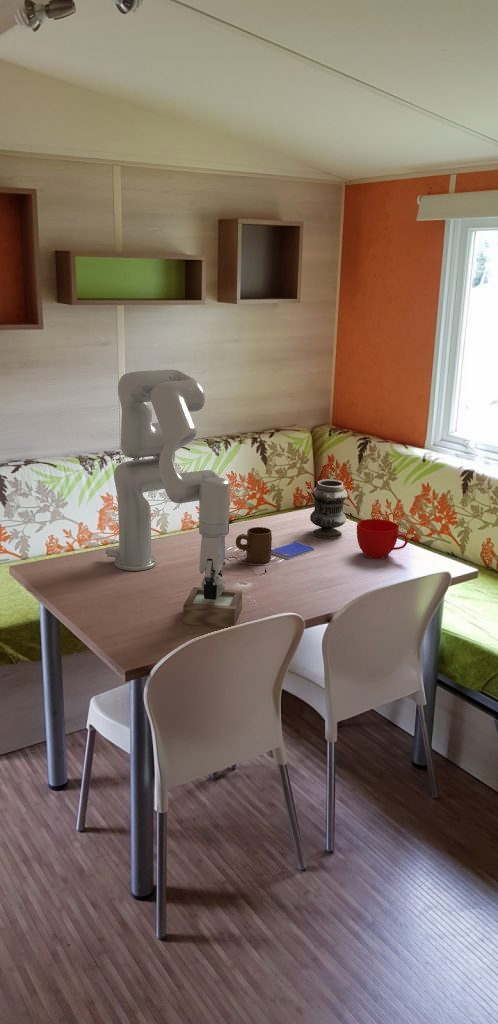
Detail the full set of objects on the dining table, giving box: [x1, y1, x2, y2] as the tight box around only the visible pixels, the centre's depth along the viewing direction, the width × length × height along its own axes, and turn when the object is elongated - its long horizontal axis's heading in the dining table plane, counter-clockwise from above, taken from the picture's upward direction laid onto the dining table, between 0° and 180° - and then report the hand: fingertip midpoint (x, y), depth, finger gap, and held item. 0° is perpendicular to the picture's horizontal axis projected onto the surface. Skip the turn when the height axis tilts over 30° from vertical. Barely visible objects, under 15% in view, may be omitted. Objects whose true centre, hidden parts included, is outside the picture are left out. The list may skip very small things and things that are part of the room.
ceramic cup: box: [356, 518, 409, 560], centre depth 262 cm, size 13×17×10 cm
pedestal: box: [182, 586, 243, 628], centre depth 216 cm, size 13×12×5 cm
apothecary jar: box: [309, 479, 348, 539], centre depth 281 cm, size 12×12×18 cm
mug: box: [235, 526, 273, 564], centre depth 256 cm, size 12×8×9 cm, turn 121°
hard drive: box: [271, 541, 315, 561], centre depth 266 cm, size 2×8×12 cm
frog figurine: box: [200, 572, 226, 597], centre depth 215 cm, size 6×7×7 cm
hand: (213, 592), depth 215 cm, fingers closed on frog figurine, 7 cm apart
